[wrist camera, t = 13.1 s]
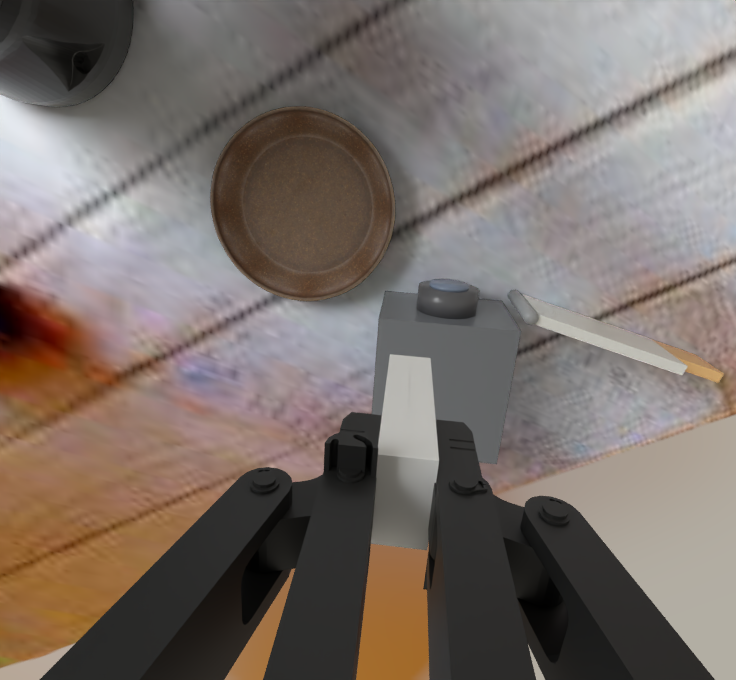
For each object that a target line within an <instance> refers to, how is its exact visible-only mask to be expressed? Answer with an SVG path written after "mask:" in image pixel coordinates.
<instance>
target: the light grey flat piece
mask: <svg viewBox="0 0 736 680" xmlns="http://www.w3.org/2000/svg"><path fill="white" fill-rule="evenodd" d="M508 298H509V300H510V301H511V303H512V304H513V305H514V307H515V308H516V310H517V311H518V313H519V314H520V315H521V317H522V318H523V320H524V321H525V323H526V324H528V325H534V324H535V325H537V326H540V327H543V328H546V329H548V330H551V331H554V332H557V333H560V334H563V335H566V336H569V337H572V338H574V339H577V340H580V341H583V342H586V343H589V344H592V345H595V346H598V347H600V348H603V349H606V350H609V351H612V352H615V353H618V354H621V355H624V356H627V357H629V358H632V359H635V360H638V361H641V362H644V363H647V364H650V365H653V366H655V367H658V368H661V369H664V370H667V371H670V372H673V373H676V374H679V375H683V373H684V372H688V373H691V374H694V375H697V376H700V377H703V378H706V379H709V380H712V381H714V382H717V383H718V382H719V381H720V379H721V378H722V376H723V375H724V373H722V372H721V371H719V370H718V369H716V368H715V367H713V366H712V365H710V364H709V363H707V362H706V361H704V360H703V359H701V358H700V357H698V356H697V355H695V354H692V353H689V352H687V351H684V350H681V349H678V348H675V347H672V346H669V345H666V344H663V343H661V342H658V341H655V340H652V339H650V338H647V337H645V336H642V335H639V334H636V333H633V332H630V331H627V330H624V329H621V328H619V327H616V326H613V325H610V324H607V323H604V322H601V321H598V320H596V319H593V318H590V317H587V316H584V315H581V314H578V313H575V312H573V311H570V310H567V309H564V308H561V307H558V306H555V305H552V304H549V303H547V302H544V301H541V300H538V299H535V298H532V297H529V296H526V295H524V294H522V295H521V294H520V292H519V291H518V290H511V291H510V292H509V293H508Z"/></svg>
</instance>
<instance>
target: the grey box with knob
mask: <svg viewBox="0 0 736 680" xmlns="http://www.w3.org/2000/svg"><path fill="white" fill-rule="evenodd" d="M478 298H479V289H478V288H476V287H474V286H472V285H469V284H467V283H465V282H462V281H457V280H451V279H434V280H431V281H424V282H421V283H420V284H419V289H418V294H415V293H403V292H391V291H385V294H384V299H383V303H382V307H381V312H380V316H379V323H378V337H377V350H376V363H375V377H374V390H373V403H372V414H375V415H382V411H383V403H384V396H385V388H386V380H387V373H388V365H389V357H390V354H393V355H403V356H414V357H425V358H431V370H432V382H433V394H434V406H435V418H436V420H446V421H456V422H464V423H465V424H466V425H467V427H468V428H469V429H470V430H471V431H472V433H473V438H474V443H475V447H476V452H477V456H478V461H479V462H481V463H490V464H497V459H498V454H499V448H500V443H501V437H502V432H503V426H504V421H505V416H506V410H507V405H508V399H509V394H510V389H511V383H512V378H513V372H514V367H515V361H516V356H517V351H518V345H519V340H520V334H521V330H520V329H519V327H518V325H517V324H516V322H515V321H514V319H513V318H512V316H511V315H510V313H509V311H508V310H507V308H506V307H505V305H504V304H503V302H502V301H497V300H485V299H478Z"/></svg>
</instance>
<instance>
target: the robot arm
mask: <svg viewBox="0 0 736 680" xmlns="http://www.w3.org/2000/svg"><path fill="white" fill-rule="evenodd" d="M132 26H133V1H132V0H0V94H1V95H3V96H6V97H8V98H11V99H14V100H17V101H21V102H25V103H31V104H37V105H43V106H51V107H64V106H71V105H75V104H79V103H82V102H84V101H86V100H89V99H91V98H92V97H94V96H96V95H97V94H98V93H100V92H101V91H102V90H103V89H104V88H106V86H107V85H108V84H109V83H110V82H111V81H112V80H113V78H114V77H115V76H116V74H117V73H118V71H119V69H120V67H121V66H122V64H123V61H124V59H125V57H126V54H127V51H128V48H129V44H130V39H131V34H132ZM428 539H429V552H428V559H427V567H426V574H425V582H424V588H423V589H426V590H427V600H428V636H429V676H430V680H536V677H535V673H534V669H533V665H532V660H531V656H530V651H529V647H530V649H531V651H532V653H533V655H534V657H535V659H536V661H537V663H538V665H539V667H540V669H541V671H542V673H543V675H544V678H545V680H714V678H713V677H712V676H711V674H710V673H709V672H708V671H707V669H706V668H705V667H704V666H703V664H702V663H701V662H700V661H699V660H698V658H697V657H696V656H695V655H694V653H693V652H692V651H691V650H690V648H689V647H688V646H687V645H686V643H685V642H684V641H683V640H682V638H681V637H680V636H679V635H678V633H677V632H676V631H675V630H674V629H673V627H672V626H671V625H670V624H669V622H668V621H667V620H666V619H665V617H664V616H663V615H662V614H661V612H660V611H659V610H658V609H657V607H656V606H655V605H654V604H653V603H652V601H651V600H650V599H649V598H648V596H647V595H646V594H645V593H644V592H643V590H642V589H641V588H640V586H639V585H638V584H637V583H636V582H635V580H634V579H633V578H632V577H631V575H630V574H629V573H628V572H627V571H626V570H625V568H624V567H623V565H622V564H621V563H620V562H619V560H618V559H617V558H616V557H615V556H614V554H613V553H612V552H611V551H610V549H609V548H608V547H607V546H606V544H605V543H604V542H603V541H602V540H601V538H600V537H599V536H598V535H597V533H596V532H595V531H594V530H593V528H592V527H591V526H590V525H589V523H588V522H587V521H586V520H585V518H584V517H583V516H582V515H581V514H580V512H578V511H577V510H576V509H575V508H574V507H573V506H571V505H570V504H568V503H566V502H564V501H563V500H560V499H557V498H553V497H549V496H537V497H532V498H530V499H529V500H528V501H526V503H525V507H521V506H518V505H515V504H512V503H509V502H507V501H504V500H502V499H500V498H498V497H497V496H495V495H494V494H493V493H492V489H491V487H490V485H489V483H488V482H487V481H486V480H484V479H483V478H482V475H481V470H480V466H479V461H478V456H477V452H476V447H475V443H474V438H473V433H472V431H471V430H470V429H469V428H468V427H467V425H466V424H465V423H464V422H456V421H446V420H436V418H435V406H434V394H433V382H432V370H431V358H425V357H414V356H403V355H393V354H390V357H389V365H388V373H387V380H386V388H385V396H384V403H383V411H382V415H375V414H365V413H355V412H351V413H350V414H349V415H348V416H347V417H345V418H344V419H343V421H342V425H341V428H340V432H339V433H337V434H334V435H333V436H331V437H329V438H328V439H327V441H326V442H325V454H324V472H323V475H321V476H319V477H318V478H315V479H312V480H308V481H302V482H293V483H292V480H291V477H290V476H289V475H288V474H287V473H286V472H284V471H282V470H280V469H277V468H269V467H266V468H257V469H254V470H251V471H249V472H247V473H245V474H244V475H243V476H241V477H240V478H239V479H238V480H237V481H236V482H235V483H234V484H233V485H232V486H231V487H230V488H229V489H228V490H227V491H226V492H225V493H224V494H223V495H222V496H221V497H220V498H219V499H218V500H217V501H216V502H215V503H214V504H213V505H212V506H211V507H210V508H209V509H208V510H207V511H206V512H205V513H204V514H203V515H202V516H201V517H200V518H199V519H198V520H197V521H196V522H195V523H194V524H193V525H192V526H191V527H190V528H189V529H188V531H187V532H186V533H185V534H184V535H183V536H182V537H181V538H180V539H179V540H178V541H177V542H176V543H175V544H174V545H173V546H172V547H171V548H170V549H169V550H168V551H167V552H166V553H165V554H164V555H163V556H162V557H161V558H160V559H159V560H158V561H157V562H156V563H155V564H154V565H153V566H152V567H151V568H150V569H149V570H148V571H147V572H146V573H145V574H144V575H143V576H142V577H141V578H140V579H139V580H138V581H137V582H136V583H135V584H134V585H133V586H132V587H131V588H130V589H129V590H128V591H127V592H126V593H125V594H124V595H123V596H122V597H121V598H120V599H119V600H118V601H117V602H116V603H115V604H114V605H113V606H112V607H111V608H110V609H109V610H108V611H107V612H106V613H105V614H104V615H103V616H102V617H101V618H100V619H99V620H98V621H97V622H96V623H95V624H94V625H93V626H92V627H91V628H90V629H89V630H88V631H87V632H86V634H85V635H84V636H83V637H82V638H81V639H80V640H79V641H78V642H77V643H76V644H75V645H74V646H73V647H72V648H71V649H70V650H69V651H68V652H67V653H66V654H65V655H64V656H63V657H62V658H61V659H60V660H59V661H58V662H57V663H56V664H55V665H54V666H53V667H52V668H51V669H50V670H49V671H48V672H47V673H46V674H45V675H44V676H43V677H42V678H41V679H40V680H224V679H225V678H226V676H227V674H228V673H229V671H230V669H231V668H232V666H233V665H234V663H235V662H236V660H237V658H238V657H239V655H240V653H241V652H242V650H243V649H244V647H245V646H246V644H247V642H248V641H249V639H250V637H251V636H252V634H253V633H254V631H255V630H256V628H257V626H258V625H259V623H260V622H261V620H262V618H263V617H264V615H265V614H266V612H267V610H268V609H269V607H270V606H271V604H272V602H273V601H274V599H275V598H276V596H277V594H278V593H279V591H280V590H281V588H282V586H283V585H284V583H285V582H286V580H287V578H288V577H289V574H290V571H291V569H293V568H296V569H295V572H294V575H293V579H292V582H291V586H290V589H289V593H288V596H287V599H286V603H285V607H284V610H283V613H282V617H281V620H280V623H279V627H278V630H277V634H276V637H275V641H274V645H273V648H272V651H271V655H270V658H269V661H268V665H267V668H266V672H265V675H264V678H263V680H356V674H357V665H358V656H359V647H360V637H361V628H362V620H363V611H364V602H365V592H366V584H367V575H368V566H369V556H370V544H379V545H388V546H396V547H404V548H413V549H422V550H427V547H428ZM528 645H529V647H528Z"/></svg>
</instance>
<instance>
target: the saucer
mask: <svg viewBox="0 0 736 680" xmlns="http://www.w3.org/2000/svg"><path fill="white" fill-rule="evenodd" d="M210 202H211V213H212V218H213V223H214V227H215V230H216V233H217V235H218V238H219V240H220V242H221V244H222V247H223V248H224V250H225V252H226V253H227V255H228V256H229V258H230V259H231V261H232V262H233V263H234V265H235V266H236V267H237V268H238V269H239V270H240V271H241V273H243V274H244V275H245V276H246V277H247V278H248V279H249V280H251V281H252V282H253V283H255V284H256V285H258V286H259V287H261V288H262V289H264V290H266V291H268V292H270V293H273V294H275V295H277V296H280V297H284V298H288V299H292V300H300V301H317V300H323V299H328V298H332V297H335V296H338V295H341V294H343V293H345V292H347V291H349V290H351V289H352V288H354V287H356V286H357V285H359V284H360V283H361V282H362V281H364V280H365V279H366V278H367V277H368V276H369V275H370V274H371V273H372V271H373V270H374V269H375V268H376V267H377V265H378V264H379V262H380V261H381V259H382V257H383V256H384V254H385V252H386V250H387V248H388V245H389V242H390V240H391V236H392V233H393V228H394V222H395V198H394V191H393V186H392V182H391V179H390V175H389V172H388V170H387V167H386V165H385V163H384V161H383V159H382V158H381V156H380V154H379V152H378V151H377V149H376V148H375V146H374V145H373V144H372V143H371V141H370V140H369V139H368V138H367V137H366V136H365V135H364V134H363V133H362V132H361V131H360V130H359V129H358V128H356V127H355V126H354V125H352V124H351V123H349V122H348V121H346V120H345V119H343V118H342V117H339V116H337V115H335V114H333V113H330V112H328V111H325V110H322V109H317V108H312V107H300V106H293V107H284V108H279V109H275V110H271V111H269V112H266V113H264V114H261V115H259V116H257V117H256V118H254V119H252V120H251V121H249V122H248V123H246V124H245V125H244V126H243V127H242V128H240V129H239V130H238V131H237V132H236V133H235V134H234V135H233V137H232V138H231V139H230V140H229V142H228V143H227V144H226V146H225V147H224V149H223V151H222V153H221V154H220V156H219V158H218V161H217V163H216V166H215V169H214V173H213V177H212V183H211V195H210Z"/></svg>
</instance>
